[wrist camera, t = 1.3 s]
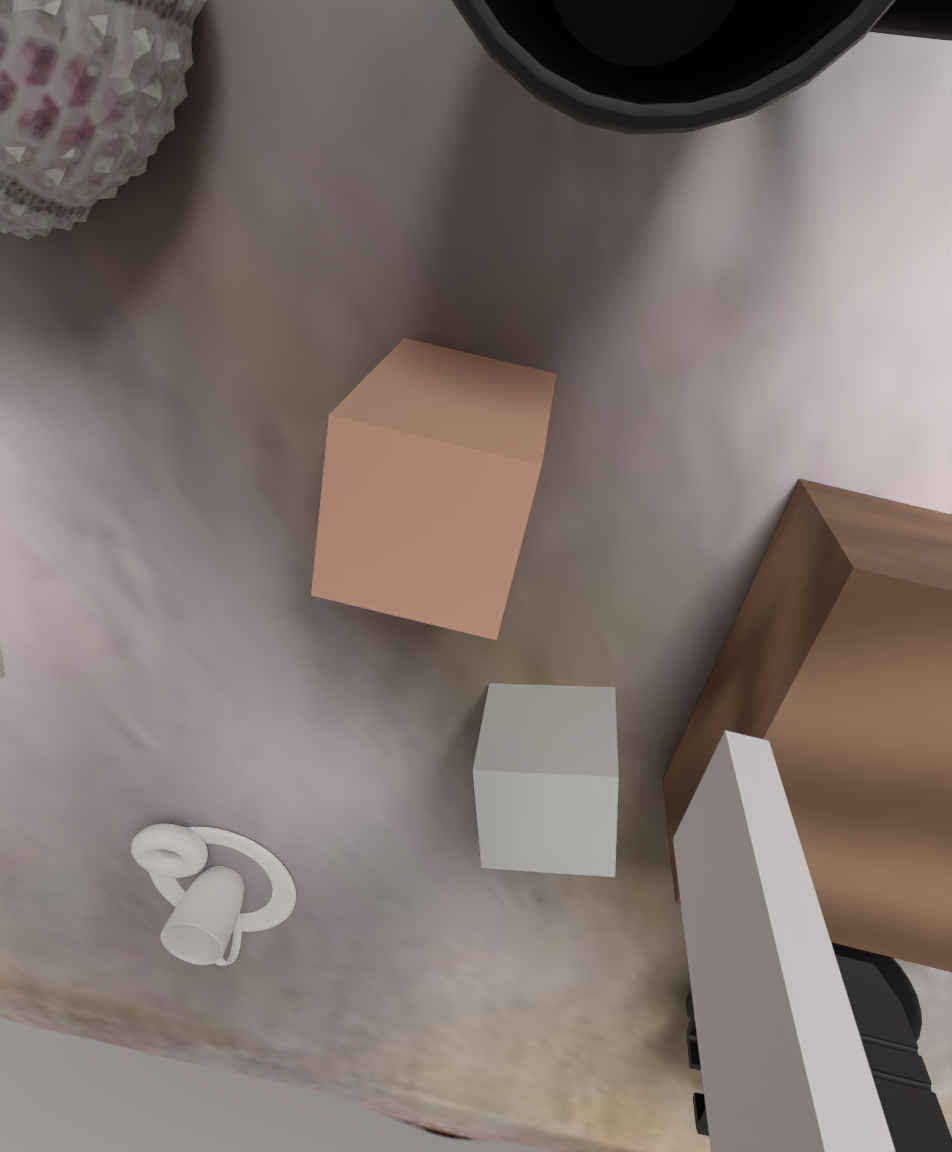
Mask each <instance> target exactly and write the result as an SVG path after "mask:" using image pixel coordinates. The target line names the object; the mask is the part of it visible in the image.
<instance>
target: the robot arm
mask: <svg viewBox="0 0 952 1152" xmlns="http://www.w3.org/2000/svg"><path fill="white" fill-rule="evenodd" d="M4 675H5V672H4V665H3V659H2V652H1V645H0V679H1V678H2V677H3V676H4ZM673 844H674V852H675V860H676V868H677V877H678V885H679V893H680V901H681V909H682V917H683V926H684V934H685V942H686V950H687V958H688V967H689V975H690V983H691V991H692V999H693V1007H694V1016H695V1024H696V1032H697V1040H698V1048H699V1056H700V1065H701V1073H702V1081H703V1089H704V1097H705V1105H706V1114H707V1122H708V1130H709V1138H710V1146H711V1152H952V1137H951V1135H950V1132H949V1129H948V1127H947V1124H946V1121H945V1118H944V1116H943V1113H942V1110H941V1108H940V1105H939V1102H938V1100H937V1097H936V1094H935V1093H934V1092H932V1091H931V1084H932V1083H931V1081H930V1078H929V1075H928V1072H927V1070H926V1067H925V1064H924V1062H923V1059H922V1056H919V1055H918V1052H917V1050H918V1045H917V1043H916V1040H915V1037H914V1035H913V1032H912V1029H911V1026H910V1024H909V1021H908V1018H907V1016H906V1013H905V1010H904V1007H903V1005H902V1003H901V1002H900V1000H899V999H898V998H897V996H896V995H895V993H894V992H893V990H892V989H891V988H890V986H889V985H888V983H887V982H886V980H885V979H884V978H883V976H882V975H881V973H880V972H879V971H878V969H877V968H876V966H875V965H874V964H871V963H867V962H863V961H859V960H855V959H851V958H847V957H843V956H839V955H835V953H834V950H833V947H832V944H831V941H830V937H829V934H828V931H827V928H826V924H825V921H824V918H823V915H822V911H821V908H820V905H819V902H818V898H817V895H816V892H815V889H814V885H813V882H812V879H811V876H810V872H809V869H808V866H807V863H806V859H805V856H804V853H803V850H802V846H801V843H800V840H799V837H798V833H797V830H796V827H795V824H794V820H793V817H792V814H791V811H790V807H789V804H788V801H787V798H786V794H785V791H784V788H783V785H782V781H781V778H780V775H779V772H778V768H777V765H776V762H775V759H774V755H773V752H772V749H771V746H770V742H769V741H767V740H763V739H759V738H755V737H751V736H747V735H742V734H738V733H734V732H730V731H726V730H725V732H724V734H723V736H722V738H721V740H720V742H719V744H718V746H717V748H716V750H715V753H714V755H713V757H712V759H711V761H710V763H709V765H708V767H707V769H706V771H705V773H704V775H703V777H702V779H701V782H700V784H699V786H698V788H697V790H696V792H695V794H694V796H693V798H692V800H691V802H690V804H689V806H688V808H687V811H686V813H685V815H684V817H683V819H682V821H681V823H680V825H679V827H678V829H677V831H676V833H675V835H674V837H673Z"/></svg>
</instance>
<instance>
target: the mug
mask: <svg viewBox="0 0 952 1152" xmlns="http://www.w3.org/2000/svg"><path fill="white" fill-rule="evenodd" d="M452 2H453V3H454V5H455V6H456V8H457V9H458V11H459V12H460V14H461V15H462V17H463V18H464V19H465V21H466V22H467V24H468V25H469V27H470V28H471V30H472V31H473V33H474V34H475V35H476V37H477V38H478V40H479V41H480V43H481V44H482V46H483V47H484V49H485V50H486V51H487V53H488V54H489V55H490V56H491V57H492V58H493V59H494V60H495V61H496V62H497V63H498V64H500V65H501V66H502V67H503V68H504V69H505V70H506V71H507V72H508V73H509V74H510V75H512V76H513V77H514V78H515V79H516V80H517V81H518V82H519V83H520V84H521V85H522V86H524V87H525V88H526V89H527V90H528V91H529V92H530V93H531V94H532V95H534V96H535V97H536V98H537V99H539V100H540V101H542V102H544V103H546V104H548V105H549V106H551V107H553V108H555V109H557V110H559V111H561V112H562V113H564V114H566V115H568V116H570V117H572V118H574V119H575V120H577V121H579V122H581V123H583V124H587V125H591V126H595V127H600V128H604V129H608V130H612V131H617V132H621V133H625V134H663V133H684V132H691V131H695V130H698V129H702V128H706V127H709V126H713V125H716V124H720V123H723V122H727V121H731V120H734V119H738V118H741V117H745V116H749V115H751V114H753V113H754V112H756V111H758V110H760V109H762V108H764V107H766V106H767V105H769V104H771V103H773V102H775V101H777V100H779V99H781V98H782V97H784V96H786V95H788V94H790V93H792V92H794V91H795V90H797V89H799V88H801V87H803V86H805V85H807V84H808V83H809V82H810V81H812V80H813V79H814V78H815V77H817V76H818V75H819V74H820V73H821V72H823V71H824V70H825V69H826V68H827V67H829V66H830V65H831V64H832V63H834V62H835V61H836V60H837V59H838V58H840V57H841V56H842V55H843V54H844V53H846V52H847V51H848V50H849V49H851V48H852V47H853V46H854V45H855V44H857V43H858V42H859V41H860V40H862V39H863V38H864V37H865V35H866V34H867V33H868V32H877V33H885V34H894V35H903V36H912V37H922V38H931V39H941V40H952V0H452Z"/></svg>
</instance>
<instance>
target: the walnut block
mask: <svg viewBox="0 0 952 1152" xmlns="http://www.w3.org/2000/svg"><path fill="white" fill-rule="evenodd" d="M725 730H726V731H730V732H734V733H738V734H742V735H747V736H751V737H755V738H759V739H763V740H767V741H769V742H770V746H771V749H772V752H773V755H774V759H775V762H776V765H777V768H778V772H779V775H780V778H781V781H782V785H783V788H784V791H785V794H786V798H787V801H788V804H789V807H790V811H791V814H792V817H793V820H794V824H795V827H796V830H797V833H798V837H799V840H800V843H801V846H802V850H803V853H804V856H805V859H806V863H807V866H808V869H809V872H810V876H811V879H812V882H813V885H814V889H815V892H816V895H817V898H818V902H819V905H820V908H821V911H822V915H823V918H824V921H825V924H826V928H827V931H828V934H829V937H830V941H831V942H833V943H837V944H841V945H845V946H849V947H853V948H857V949H861V950H865V951H869V952H873V953H877V954H881V955H885V956H889V957H893V958H897V959H901V960H905V961H909V962H913V963H917V964H921V965H925V966H929V967H933V968H937V969H941V970H945V971H949V972H952V515H950V514H945V513H941V512H937V511H933V510H929V509H924V508H920V507H916V506H912V505H907V504H903V503H899V502H895V501H891V500H886V499H882V498H878V497H874V496H869V495H865V494H861V493H857V492H853V491H848V490H844V489H840V488H836V487H832V486H827V485H823V484H819V483H815V482H810V481H806V480H802V479H799V481H798V483H797V485H796V487H795V490H794V492H793V494H792V496H791V498H790V501H789V503H788V505H787V507H786V509H785V512H784V514H783V516H782V518H781V520H780V523H779V525H778V527H777V529H776V531H775V534H774V536H773V538H772V540H771V542H770V545H769V547H768V549H767V551H766V553H765V556H764V558H763V560H762V562H761V564H760V567H759V569H758V571H757V573H756V575H755V578H754V580H753V582H752V584H751V586H750V589H749V591H748V593H747V595H746V597H745V600H744V602H743V604H742V606H741V608H740V611H739V613H738V615H737V617H736V619H735V622H734V624H733V626H732V628H731V630H730V633H729V635H728V637H727V639H726V641H725V644H724V646H723V648H722V650H721V652H720V655H719V657H718V659H717V661H716V663H715V666H714V668H713V670H712V672H711V674H710V677H709V679H708V681H707V683H706V685H705V688H704V690H703V692H702V694H701V696H700V699H699V701H698V703H697V705H696V707H695V710H694V712H693V714H692V716H691V718H690V721H689V723H688V725H687V727H686V729H685V732H684V734H683V736H682V738H681V740H680V743H679V745H678V747H677V749H676V751H675V754H674V756H673V758H672V760H671V762H670V765H669V767H668V769H667V771H666V773H665V776H664V778H663V790H664V799H665V808H666V818H667V827H668V836H669V846H670V855H671V864H672V874H673V883H674V892H675V902H676V904H680V905H681V901H680V893H679V885H678V877H677V868H676V860H675V852H674V844H673V837H674V835H675V833H676V831H677V829H678V827H679V825H680V823H681V821H682V819H683V817H684V815H685V813H686V811H687V808H688V806H689V804H690V802H691V800H692V798H693V796H694V794H695V792H696V790H697V788H698V786H699V784H700V782H701V779H702V777H703V775H704V773H705V771H706V769H707V767H708V765H709V763H710V761H711V759H712V757H713V755H714V753H715V750H716V748H717V746H718V744H719V742H720V740H721V738H722V736H723V734H724V732H725Z"/></svg>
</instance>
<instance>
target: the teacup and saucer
mask: <svg viewBox="0 0 952 1152" xmlns="http://www.w3.org/2000/svg"><path fill="white" fill-rule="evenodd" d="M205 843H207V844H218V845H223V846H226V847H230V848H233V849H235V850H237V851H240V852H242V853H244V854H245V855H247V856H249V857H250V858H252V859H253V860H254V861H256V862H257V863H258V864H259V865H260V866H261V867H262V868H263V869H264V870H265V872H266V873H267V875H268V876H269V878H270V880H271V883H272V888H273V893H272V897H271V899H270V901H269V903H268V904H267V905H266V906H264V907H263V908H262V909H260V910H257V911H255V912H251V913H244V914H240V909H241V906H242V902H243V897H244V881H243V879H242V877H241V876H240V875H239V874H238V873H237V872H235V871H234V870H232V869H230V868H227V867H224V866H213V867H210V868H208V869H207V870H205V871H204V872H203V873H201V874H200V875H199V876H198V877H197V878H196V880H195V881H194V882H193V883H192V884H191V886H190V887H189V888H188V890H187V891H186V892H185V891H184V890H183V889H182V888H181V886H180V885H179V884H178V882H177V880H176V878H182V877H188V876H191V875H194V874H196V873H198V872H199V871H201V870H202V869H203V867H204V866H205V864H206V862H207V859H208V850H207V846H206V844H205ZM131 854H132V856H133V858H134V859H135V861H136V862H137V863H138V864H139V865H140V866H141V867H142V868H144V869H145V870H147V871H149V874H150V877H151V879H152V881H153V883H154V885H155V886H156V888H157V889H158V891H159V892H160V893H161V894H162V895H163V897H164V898H165V899H166V900H167V901H169V902H170V903H171V904H172V905H173V906H174V907H176V908H175V910H174V911H173V913H172V914H171V916H170V918H169V919H168V921H167V922H166V924H165V926H164V928H163V929H162V931H161V935H160V937H161V941H162V944H163V945H164V947H165V948H166V949H167V950H168V951H169V952H170V953H171V954H173V955H174V956H175V957H177V958H179V959H181V960H183V961H186V962H189V963H192V964H197V965H209V964H214V963H215V964H216V965H218V966H226V965H229V964H231V963H233V962H234V961H235V960H236V959H237V957H238V954H239V950H240V945H241V935H242V932H253V931H261V930H266V929H269V928H272V927H274V926H277V925H278V924H280V923H282V922H283V921H284V920H286V919H287V918H288V917H289V915H290V914H291V913H292V911H293V909H294V907H295V903H296V889H295V885H294V882H293V880H292V878H291V876H290V874H289V872H288V871H287V869H286V868H285V867H284V865H283V864H282V863H281V862H280V861H279V860H278V859H277V858H276V857H275V856H274V855H273V854H271V853H270V852H269V851H268V850H266V849H265V848H263V847H262V846H260V845H259V844H257V843H255V842H254V841H252V840H250V839H248V838H245V837H243V836H241V835H238V834H236V833H233V832H230V831H226V830H222V829H217V828H211V827H198V826H196V827H182V826H179V825H174V824H154V825H150V826H148V827H146V828H144V829H142V830H141V831H140V832H139V833H138V834H137V835H136V836H135V837H134V839H133V840H132V843H131ZM232 932H233V941H232V947H231V952H230V955H229V957H228V959H227V960H226V961H225V960H224V958H223V954H224V952H225V950H226V947H227V945H228V942H229V940H230V937H231V934H232Z"/></svg>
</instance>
